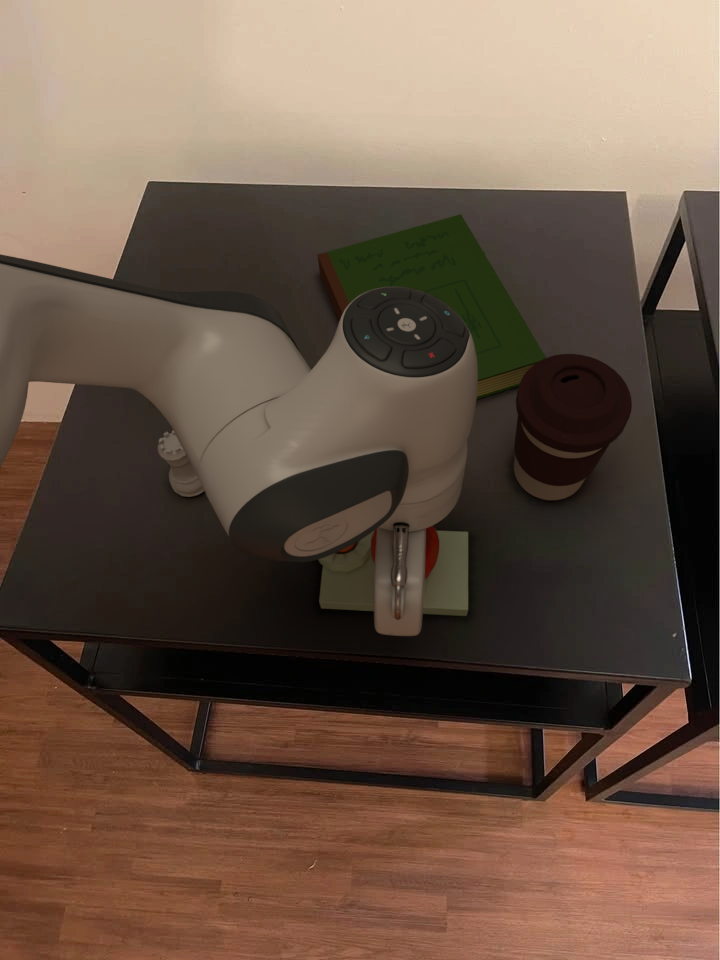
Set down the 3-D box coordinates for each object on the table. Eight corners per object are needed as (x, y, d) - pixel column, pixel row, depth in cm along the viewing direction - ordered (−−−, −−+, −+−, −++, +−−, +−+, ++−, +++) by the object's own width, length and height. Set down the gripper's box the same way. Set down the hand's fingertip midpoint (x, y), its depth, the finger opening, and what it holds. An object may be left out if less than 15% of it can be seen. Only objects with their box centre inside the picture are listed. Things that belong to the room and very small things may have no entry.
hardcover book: (320, 277, 90) (317, 254, 87) (459, 237, 92) (460, 214, 89) (386, 434, 79) (386, 414, 75) (543, 384, 81) (549, 363, 77)
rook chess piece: (219, 468, 78) (201, 428, 71) (202, 503, 76) (181, 465, 69) (182, 458, 78) (161, 417, 71) (164, 492, 76) (140, 453, 70)
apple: (364, 549, 70) (360, 516, 63) (423, 530, 71) (425, 495, 64) (385, 608, 67) (382, 579, 60) (446, 588, 68) (451, 557, 61)
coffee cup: (590, 523, 72) (631, 445, 59) (492, 502, 74) (511, 421, 61) (601, 442, 77) (642, 352, 64) (509, 423, 78) (530, 333, 65)
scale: (310, 608, 69) (305, 595, 66) (319, 525, 74) (315, 510, 71) (466, 616, 68) (469, 604, 65) (466, 531, 72) (469, 516, 69)
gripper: (445, 606, 48) (435, 661, 60) (448, 361, 57) (439, 450, 69) (350, 601, 48) (359, 656, 60) (369, 359, 58) (374, 448, 70)
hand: (402, 544), depth 65 cm, fingers open, 8 cm apart
